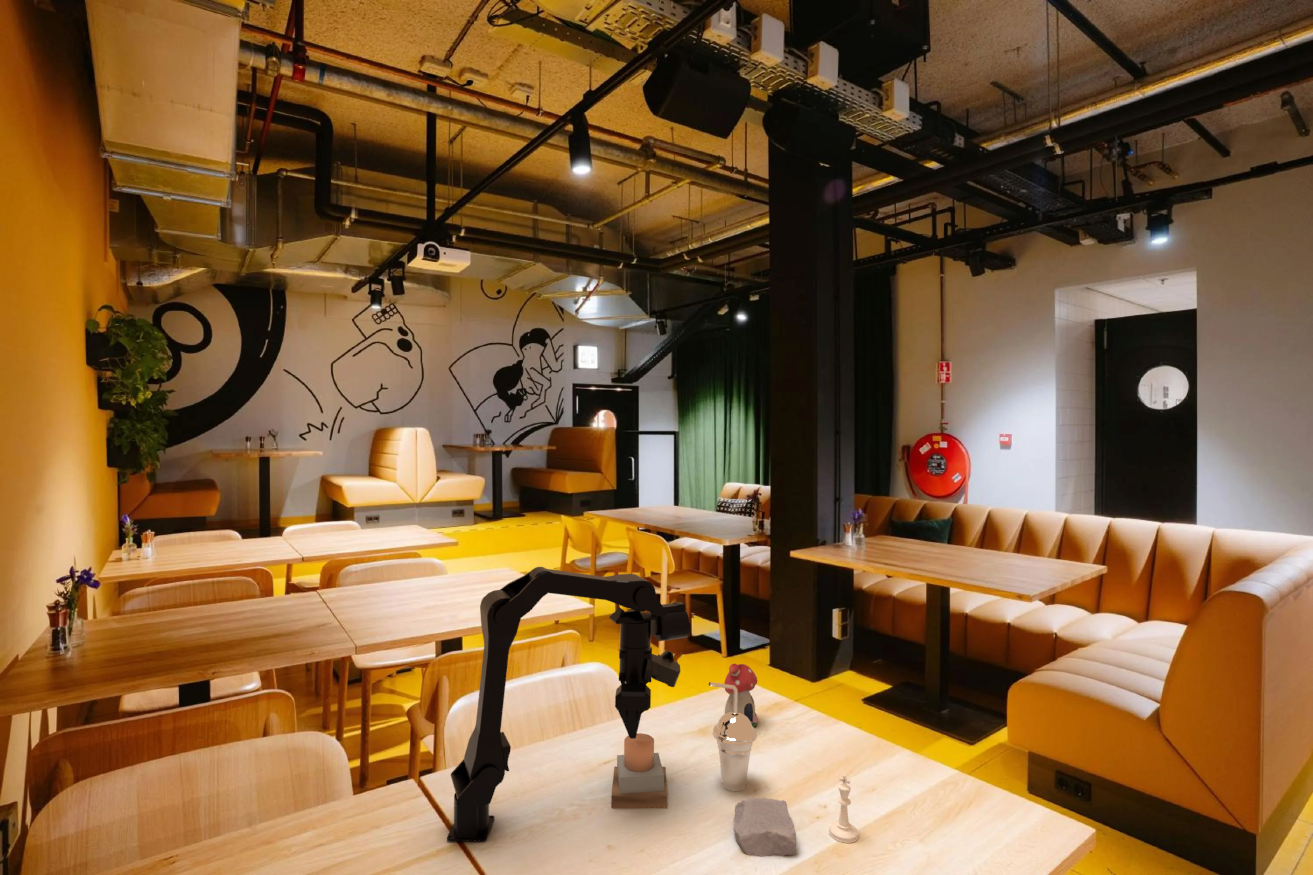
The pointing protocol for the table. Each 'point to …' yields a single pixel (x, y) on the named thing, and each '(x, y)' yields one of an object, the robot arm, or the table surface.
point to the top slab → (640, 777)
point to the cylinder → (639, 753)
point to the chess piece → (843, 817)
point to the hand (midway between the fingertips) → (633, 726)
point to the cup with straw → (734, 744)
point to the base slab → (638, 796)
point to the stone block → (764, 827)
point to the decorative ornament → (741, 691)
